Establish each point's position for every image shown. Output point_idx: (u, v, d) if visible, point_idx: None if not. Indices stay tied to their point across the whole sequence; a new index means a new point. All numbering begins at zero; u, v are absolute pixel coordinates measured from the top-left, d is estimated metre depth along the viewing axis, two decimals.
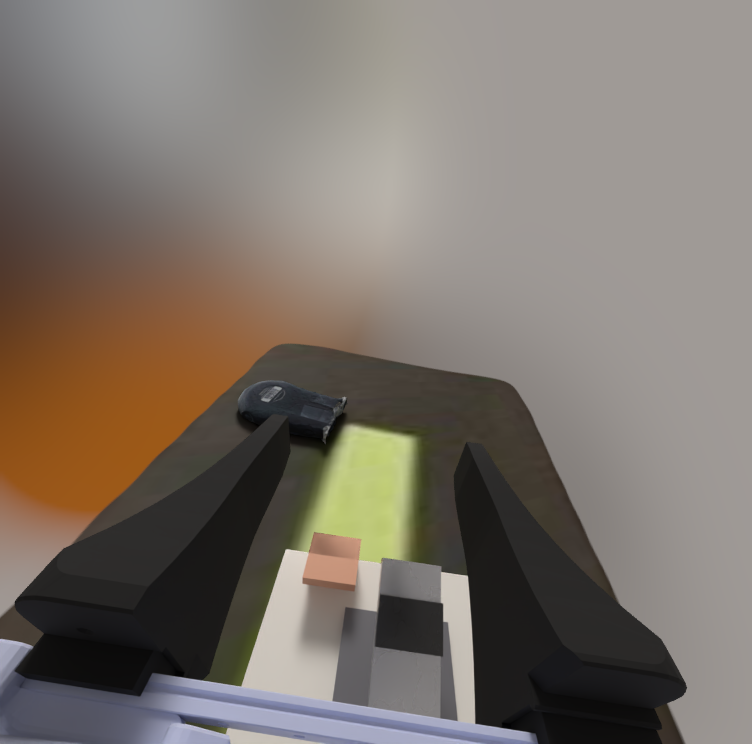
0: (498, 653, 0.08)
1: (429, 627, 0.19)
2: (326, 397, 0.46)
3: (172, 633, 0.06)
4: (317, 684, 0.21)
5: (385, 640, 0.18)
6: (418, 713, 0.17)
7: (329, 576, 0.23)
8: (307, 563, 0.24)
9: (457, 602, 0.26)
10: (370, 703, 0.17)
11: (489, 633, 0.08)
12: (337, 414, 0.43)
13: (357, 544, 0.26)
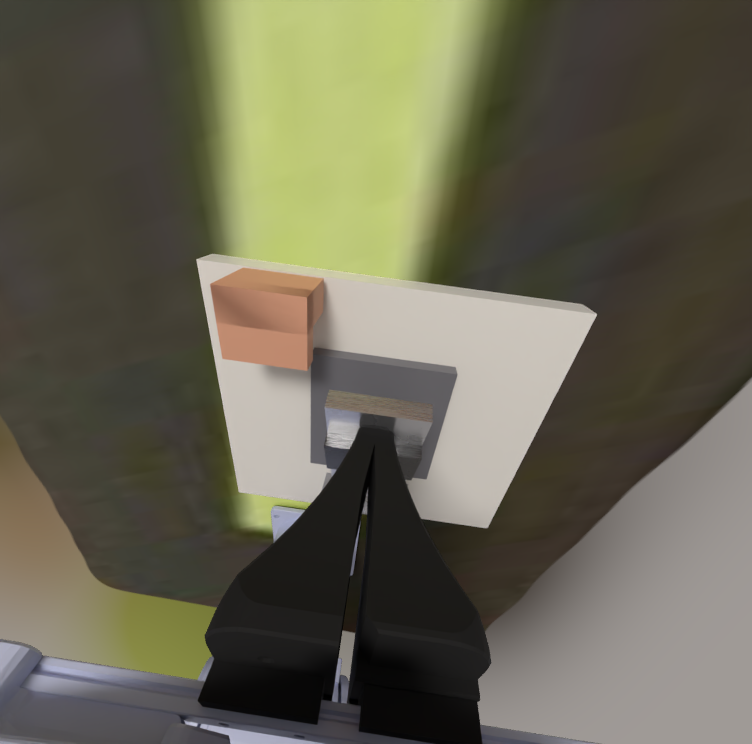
0: (357, 631, 0.08)
1: None
2: None
3: (337, 659, 0.06)
4: (296, 404, 0.20)
5: None
6: None
7: (263, 358, 0.14)
8: (221, 339, 0.14)
9: (486, 341, 0.16)
10: (333, 474, 0.17)
11: (359, 613, 0.08)
12: None
13: (301, 308, 0.13)
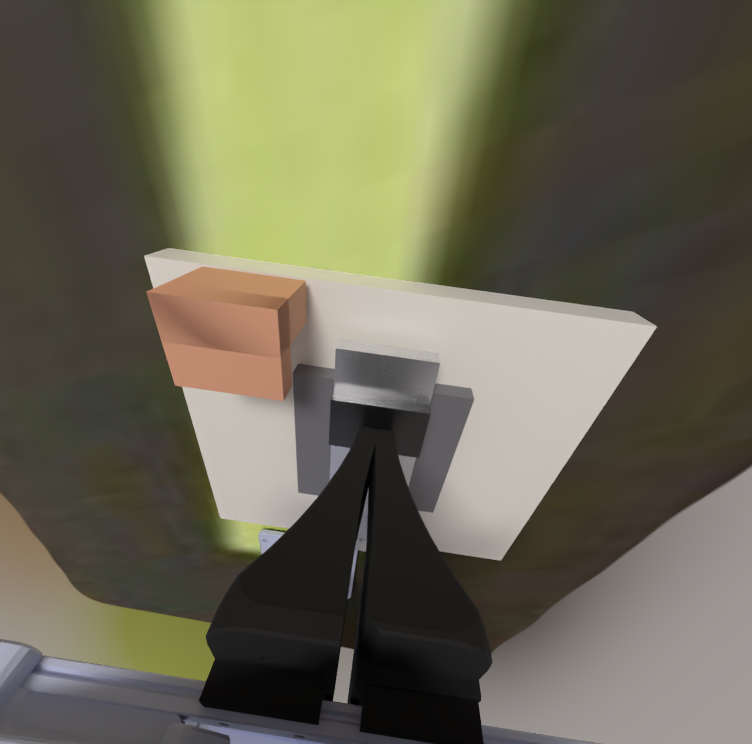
0: (359, 631, 0.08)
1: (404, 434, 0.13)
2: None
3: (338, 659, 0.06)
4: (279, 428, 0.17)
5: (341, 440, 0.13)
6: None
7: (227, 385, 0.11)
8: (171, 362, 0.11)
9: (511, 359, 0.13)
10: (331, 471, 0.15)
11: (360, 613, 0.08)
12: None
13: (270, 323, 0.09)
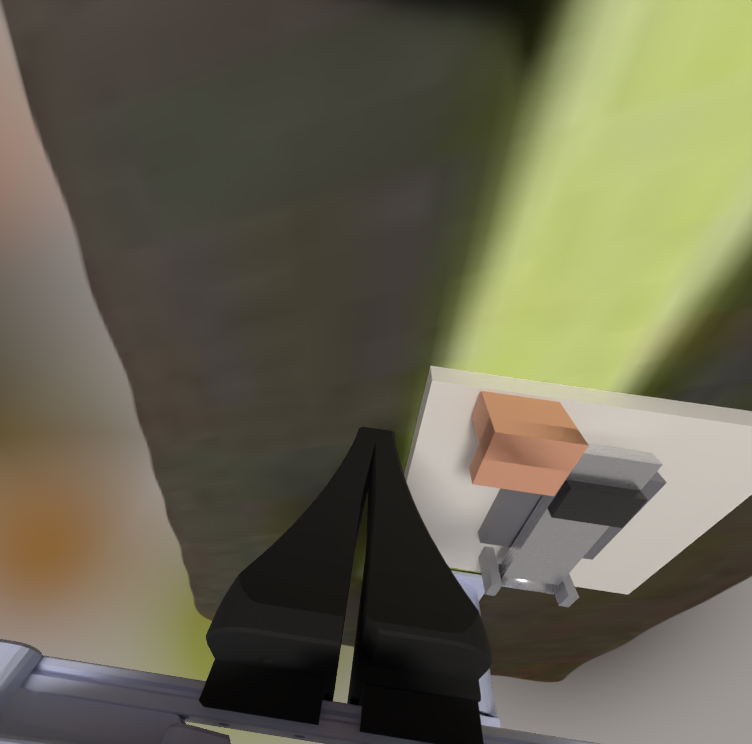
0: (358, 632, 0.08)
1: (619, 512, 0.17)
2: None
3: (338, 659, 0.06)
4: (479, 493, 0.20)
5: (564, 515, 0.17)
6: (575, 540, 0.19)
7: (514, 485, 0.15)
8: (480, 471, 0.15)
9: (699, 453, 0.17)
10: (533, 532, 0.19)
11: (360, 613, 0.08)
12: None
13: (577, 452, 0.13)
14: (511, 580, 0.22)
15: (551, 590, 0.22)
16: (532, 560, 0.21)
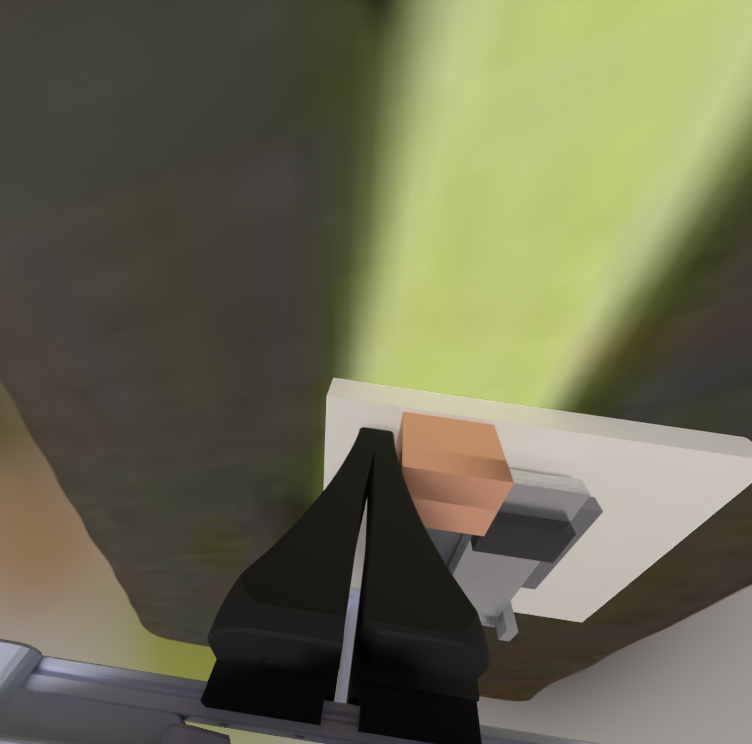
0: (357, 631, 0.08)
1: (546, 546, 0.15)
2: None
3: None
4: None
5: (485, 548, 0.15)
6: (507, 572, 0.17)
7: (437, 524, 0.13)
8: None
9: (639, 478, 0.15)
10: (460, 564, 0.17)
11: (358, 613, 0.08)
12: None
13: (502, 490, 0.11)
14: None
15: (489, 622, 0.20)
16: (465, 592, 0.19)
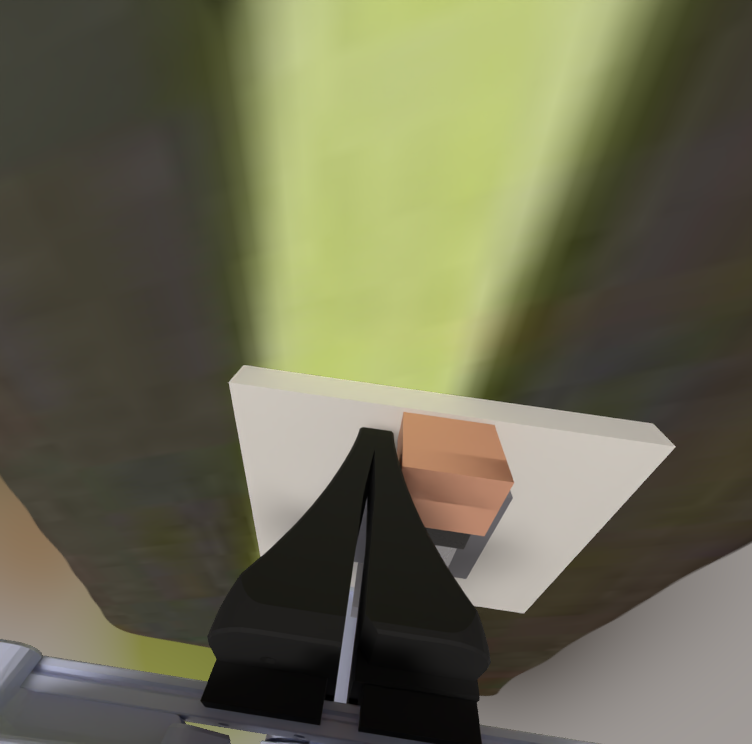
0: (357, 631, 0.08)
1: (453, 532, 0.15)
2: None
3: None
4: None
5: None
6: None
7: (437, 524, 0.13)
8: None
9: (546, 464, 0.15)
10: None
11: (359, 613, 0.08)
12: None
13: (502, 490, 0.11)
14: None
15: None
16: None
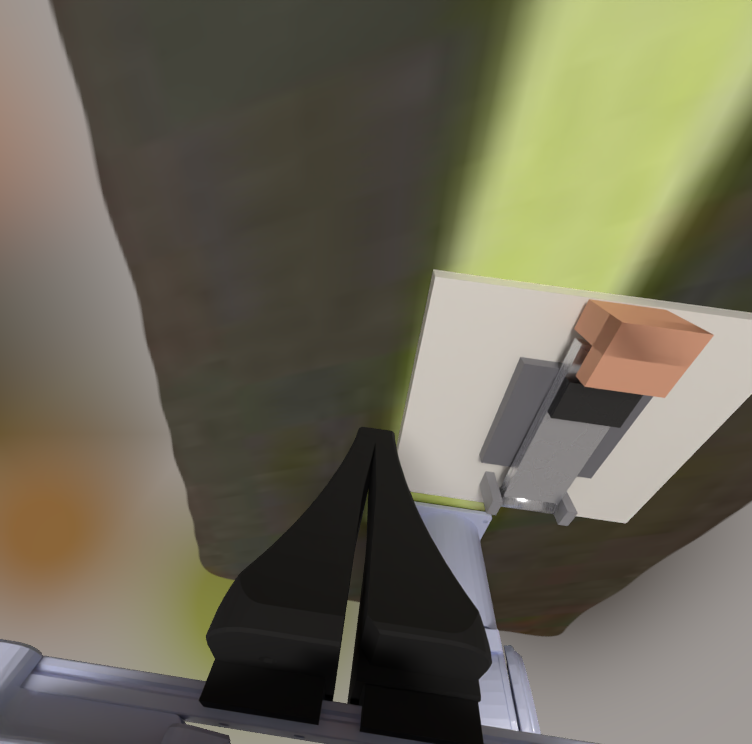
0: (358, 631, 0.08)
1: (617, 408, 0.17)
2: None
3: (338, 659, 0.06)
4: (480, 408, 0.21)
5: (563, 414, 0.18)
6: (574, 449, 0.20)
7: (627, 386, 0.15)
8: (596, 370, 0.15)
9: None
10: (533, 441, 0.20)
11: (360, 613, 0.08)
12: None
13: (701, 344, 0.14)
14: (511, 499, 0.23)
15: (550, 508, 0.22)
16: (532, 475, 0.21)
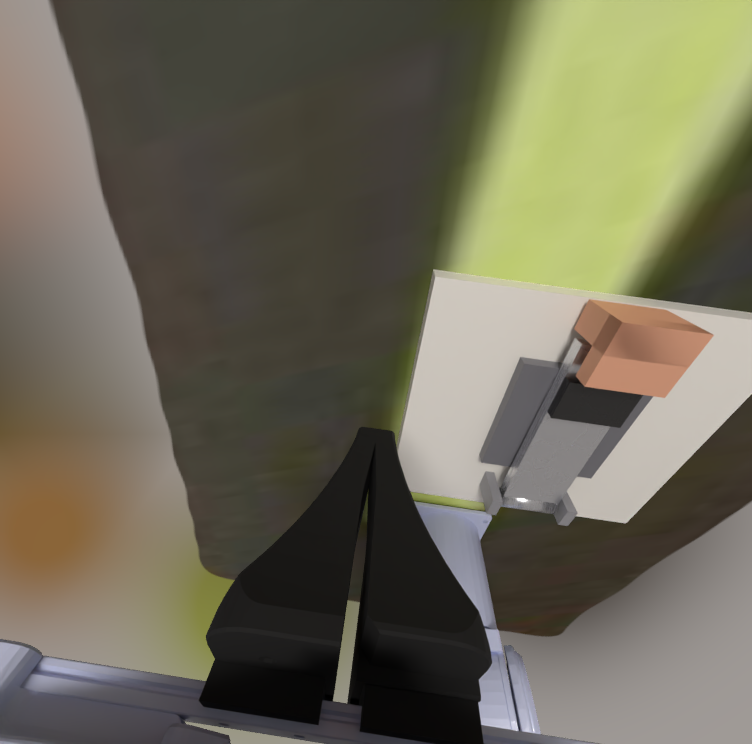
0: (358, 631, 0.08)
1: (617, 408, 0.17)
2: None
3: (338, 659, 0.06)
4: (480, 408, 0.21)
5: (563, 414, 0.18)
6: (574, 449, 0.20)
7: (627, 386, 0.15)
8: (596, 370, 0.15)
9: None
10: (533, 441, 0.20)
11: (360, 613, 0.08)
12: None
13: (701, 344, 0.14)
14: (511, 499, 0.23)
15: (550, 508, 0.22)
16: (532, 475, 0.21)
